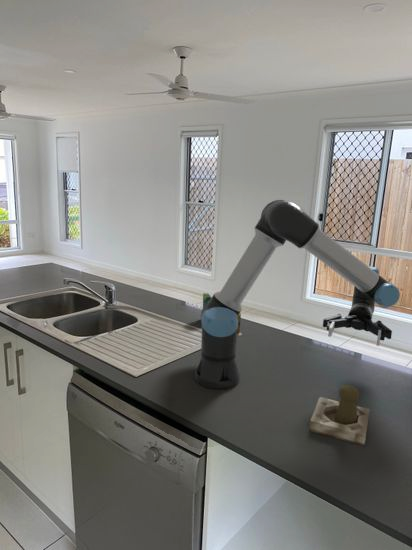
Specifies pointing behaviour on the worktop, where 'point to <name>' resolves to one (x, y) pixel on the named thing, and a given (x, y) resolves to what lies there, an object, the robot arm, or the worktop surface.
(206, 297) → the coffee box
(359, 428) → the holder block
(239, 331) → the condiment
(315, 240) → the robot arm
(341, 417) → the olive green peg
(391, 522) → the worktop surface
